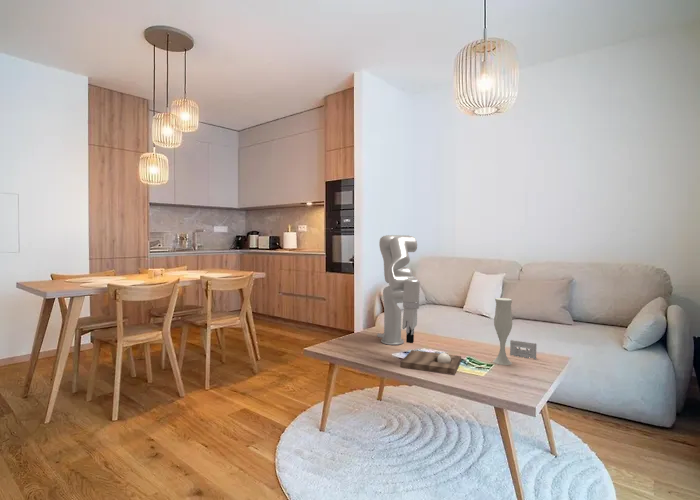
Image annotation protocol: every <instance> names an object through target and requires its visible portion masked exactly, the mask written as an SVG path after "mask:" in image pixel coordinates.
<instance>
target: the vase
mask: <svg viewBox="0 0 700 500" xmlns="http://www.w3.org/2000/svg"><path fill="white" fill-rule="evenodd" d="M494 299H495V308H494V309H495V313H494V316H493V324H494V329H495V331H496V335H497V338H498V341H499V352H498V354H497V357H496V358H494V359H493V360H492V363H494V364H497V365H501V366H510V365H513V363H512V361H511V360H510V359H508V356H507V352H506V343H507V339H508V337H509V335H510V334H511V331H512V328H513V315H512V303H513V299H511V298H508V297H506V298H505V297H497V298H494Z"/></svg>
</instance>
